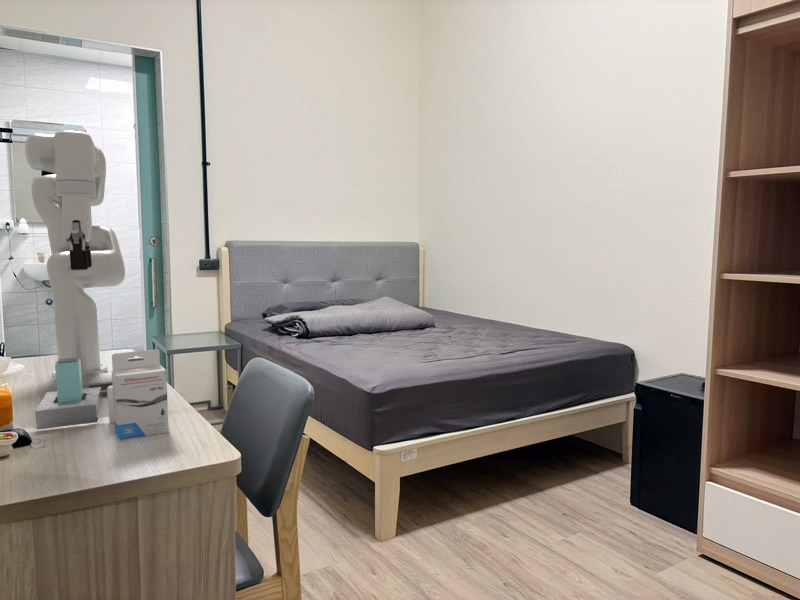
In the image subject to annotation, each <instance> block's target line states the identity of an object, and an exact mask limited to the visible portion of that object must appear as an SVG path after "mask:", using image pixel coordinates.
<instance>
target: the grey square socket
mask: <svg viewBox="0 0 800 600" xmlns="http://www.w3.org/2000/svg"><path fill="white" fill-rule="evenodd" d="M108 386H112V381H107V382H106V381H104V382H96V383H95V382H94V383H85V384H83V383H82V388H83V389H86V388H96V387H101V394H102V398H105V397H108V394H107V387H108Z"/></svg>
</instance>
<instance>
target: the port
mask: <svg viewBox="0 0 800 600" xmlns="http://www.w3.org/2000/svg"><path fill="white" fill-rule="evenodd" d="M102 399H103V397H102V394H101V387H96V388H86V389H83V400H81V401H71V402H62V403H58V397H57V390H56V391H47V392H46V393H45V395H43V397H42V400H41V401H40V403H38V406H37V407H36V409H35V410H34V414H35V415H34V416H35V426H36V430H44V429H52V428H60V427H69V426H78V425H85V424H86V425H87V424H95V423H98V420H99V417H98V416H99V410H100V407H101V404H102Z"/></svg>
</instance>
